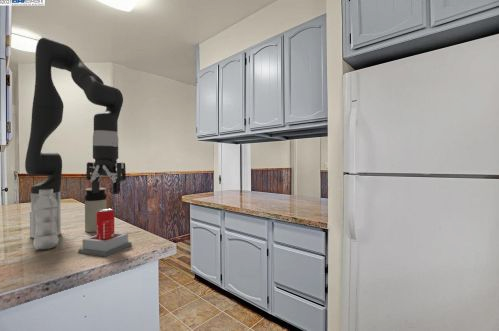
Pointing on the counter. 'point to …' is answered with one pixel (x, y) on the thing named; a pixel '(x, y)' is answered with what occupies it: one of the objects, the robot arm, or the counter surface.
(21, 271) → the counter surface
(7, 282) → the counter surface
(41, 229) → the plastic bottle
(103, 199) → the travel mug
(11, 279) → the counter surface
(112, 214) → the beverage can
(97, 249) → the can holder
